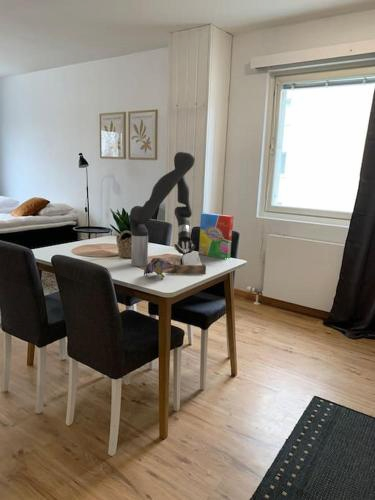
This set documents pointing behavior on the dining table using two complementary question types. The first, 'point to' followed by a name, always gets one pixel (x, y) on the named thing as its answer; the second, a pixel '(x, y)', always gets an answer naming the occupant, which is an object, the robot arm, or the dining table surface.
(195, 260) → the grey rounded block
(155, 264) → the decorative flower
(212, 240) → the game box
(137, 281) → the dining table surface
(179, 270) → the hinge pocket
